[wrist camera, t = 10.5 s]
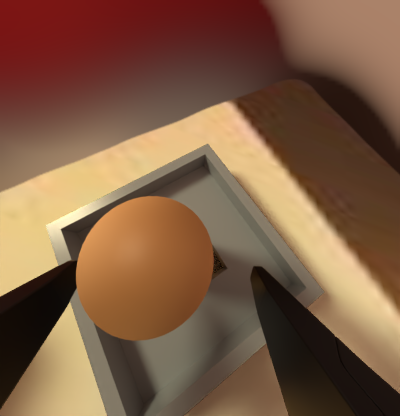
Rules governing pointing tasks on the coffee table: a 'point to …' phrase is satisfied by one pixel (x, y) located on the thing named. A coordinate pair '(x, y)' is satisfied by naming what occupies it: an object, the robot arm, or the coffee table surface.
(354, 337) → the coffee table surface
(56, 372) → the coffee table surface
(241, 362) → the socket box
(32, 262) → the coffee table surface
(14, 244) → the coffee table surface
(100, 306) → the orange peg
